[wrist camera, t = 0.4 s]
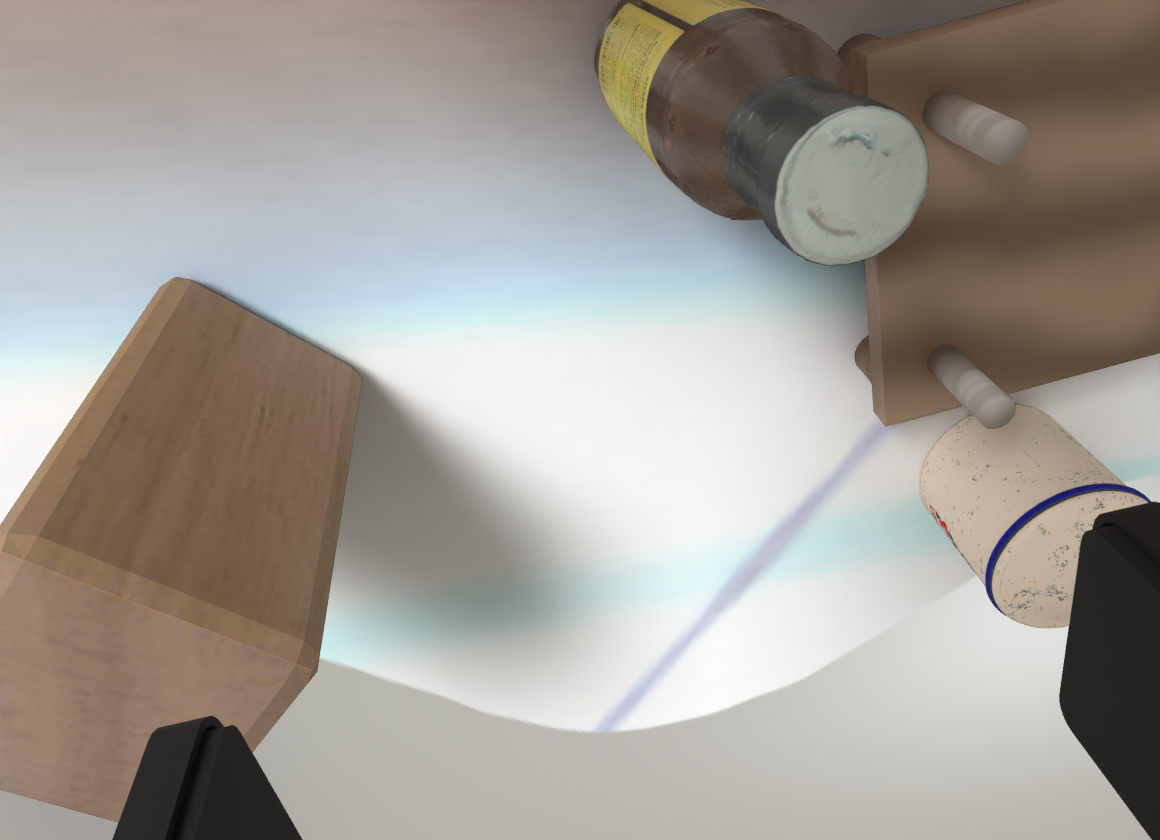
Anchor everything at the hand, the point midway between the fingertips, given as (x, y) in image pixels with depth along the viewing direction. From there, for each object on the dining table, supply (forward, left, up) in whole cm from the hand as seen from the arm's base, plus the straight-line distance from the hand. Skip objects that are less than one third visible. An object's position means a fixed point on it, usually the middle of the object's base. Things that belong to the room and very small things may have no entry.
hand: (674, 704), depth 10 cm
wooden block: (+11, -17, -34) cm, 39 cm away
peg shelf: (+11, +23, -34) cm, 42 cm away
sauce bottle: (+1, +7, -34) cm, 34 cm away
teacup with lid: (+29, +23, -34) cm, 50 cm away
